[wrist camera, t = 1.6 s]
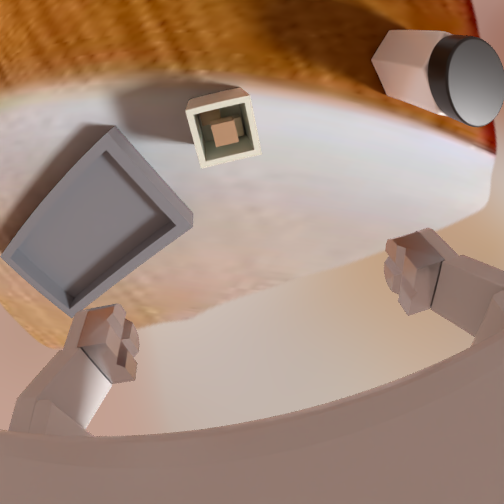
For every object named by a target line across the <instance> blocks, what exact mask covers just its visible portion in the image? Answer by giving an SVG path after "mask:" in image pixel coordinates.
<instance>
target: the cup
mask: <svg viewBox="0 0 504 504" xmlns="http://www.w3.org/2000/svg"><path fill="white" fill-rule="evenodd" d="M185 112H186V115H187V119H188V123H189V126H190V130H191V134H192V137H193V141H194V145H195V148H196V152H197V156H198V159H199V163H200V166H201V169H202V168H206V167H210V166H214V165H218V164H222V163H226V162H230V161H234V160H239V159H243V158H247V157H252V156H256V155H261V154H262V153H261V148H260V143H259V138H258V132H257V127H256V122H255V117H254V113H253V108H252V103H251V98H250V95H249V94H248V93H247V92H245V91H244V90H243V89H242V88H240V87H239V88H234V89H229V90H225V91H221V92H216V93H212V94H208V95H204V96H200V97H196V98H192V99H189V101H188V104H187V107H186V110H185Z"/></svg>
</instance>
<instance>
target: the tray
mask: <svg viewBox="0 0 504 504" xmlns="http://www.w3.org/2000/svg"><path fill="white" fill-rule="evenodd" d="M192 227H193V213H192V211H191V210H190V209H189V208H188V207H187V206H186V205H185V204H184V203H183V201H182V200H181V199H180V198H179V197H178V196H177V195H176V194H175V193H174V191H173V190H172V189H171V188H170V187H169V186H168V185H167V184H166V182H165V181H164V180H163V179H162V178H161V177H160V176H159V175H158V174H157V172H156V171H155V170H154V169H153V168H152V167H151V166H150V165H149V163H148V162H147V161H146V160H145V159H144V158H143V157H142V155H141V154H140V153H139V152H138V151H137V150H136V149H135V148H134V146H133V145H132V144H131V143H130V142H129V141H128V140H127V138H126V137H125V136H124V135H123V134H122V133H121V132H120V131H119V129H118V128H117V127H116V126H114V127H113V128H112V129H111V130H109V131H108V132H107V133H106V134H105V135H104V136H103V137H102V138H101V139H100V140H99V141H98V142H97V143H96V144H95V145H94V146H93V147H92V148H91V149H90V150H89V151H88V152H87V153H86V154H85V155H84V156H83V157H82V158H81V159H80V160H79V161H78V162H77V163H76V164H75V165H74V166H73V167H72V168H71V169H70V170H69V171H68V172H67V173H66V175H65V176H64V177H63V178H62V179H61V180H60V181H59V182H58V183H57V185H56V186H55V187H54V188H53V189H52V190H51V191H50V193H49V194H48V195H47V196H46V197H45V198H44V200H43V201H42V202H41V203H40V204H39V206H38V207H37V208H36V209H35V211H34V212H33V213H32V214H31V216H30V217H29V218H28V219H27V221H26V222H25V223H24V225H23V226H22V227H21V229H20V230H19V231H18V233H17V234H16V235H15V237H14V238H13V239H12V241H11V242H10V243H9V245H8V246H7V248H6V249H5V251H4V252H3V253H2V255H1V256H0V257H1V258H2V259H3V260H4V261H5V262H6V263H7V264H8V265H9V266H11V267H12V268H13V269H14V270H15V271H16V272H17V273H18V274H19V275H20V276H21V277H23V278H24V279H25V280H26V281H27V282H28V283H29V284H31V285H32V286H33V287H34V288H35V289H36V290H37V291H39V292H40V293H41V294H42V295H43V296H45V297H46V298H47V299H48V300H49V301H51V302H52V303H53V304H54V305H56V306H57V307H58V308H59V309H61V310H62V311H63V312H64V313H66V314H67V315H68V316H70V317H71V318H73V317H74V316H75V314H76V313H77V312H78V311H81V310H83V309H84V308H85V307H86V306H88V305H89V304H90V303H91V302H93V301H94V300H95V299H97V298H98V297H99V296H100V295H102V294H103V293H104V292H106V291H107V290H108V289H109V288H111V287H112V286H113V285H115V284H116V283H117V282H119V281H120V280H121V279H123V278H124V277H125V276H127V275H128V274H129V273H130V272H132V271H133V270H134V269H136V268H137V267H138V266H140V265H141V264H143V263H144V262H145V261H147V260H148V259H149V258H151V257H152V256H153V255H155V254H156V253H157V252H159V251H160V250H162V249H163V248H164V247H166V246H167V245H168V244H170V243H171V242H173V241H174V240H175V239H177V238H178V237H180V236H181V235H182V234H184V233H185V232H187V231H188V230H189V229H191V228H192Z"/></svg>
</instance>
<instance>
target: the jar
mask: <svg viewBox="0 0 504 504" xmlns="http://www.w3.org/2000/svg"><path fill="white" fill-rule="evenodd" d="M371 61H372V63H373V66H374V68H375V70H376V72H377V74H378V76H379V79H380V81H381V83H382V85H383V88H384V90H385V92H386V95H387V96H389V97H392V98H395V99H398V100H401V101H404V102H407V103H409V104H412V105H415V106H418V107H420V108H423V109H425V110H428V111H431V112H433V113H435V114H438V115H444V116H449V117H451V118H453V119H455V120H457V121H460V122H462V123H464V124H466V125H469V126H472V127H482V126H485V125H487V124H489V123H490V122H491V121H492V120H494V118H495V117H496V116H497V115H498V113H499V111H500V109H501V107H502V104H503V101H504V70H503V66H502V63H501V61H500V59H499V57H498V55H497V53H496V52H495V50H494V49H493V48H492V47H491V46H490V45H489V44H488V43H487V42H486V41H484V40H482V39H480V38H477V37H473V36H467V35H466V36H463V35H453V34H450V33H447V32H444V31H431V30H389V31H388V33H387V34H386V36H385V38H384V39H383V41H382V43H381V44H380V46H379V47H378V49H377V51H376V52H375V54H374V56H373V57H372V59H371Z"/></svg>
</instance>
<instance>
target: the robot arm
mask: <svg viewBox="0 0 504 504" xmlns="http://www.w3.org/2000/svg"><path fill="white" fill-rule="evenodd" d="M385 251H386V252H387V253H388V255H389V257H388V258H387V260H386V261H385V264H384V274H385V279H386V282H387V284H388V286H389V287H390V289H391V291H392V292H395V293H397V294H399V299H398V302H399V303H400V305H401V306H402V308H403V309H404V311H405V312H406V314H407V315H408V316H409V315H412V314H415V313H418V312H421V311H424V310H427V309H430V308H431V310H432V311H434V312H436V313H437V314H439V315H441V316H442V317H444V318H445V319H447V320H449V321H450V322H452V323H454V324H455V325H457V326H458V327H460V328H461V329H463V330H465V331H467V332H468V333H469V334H471V335H473V336H474V337H475V338H474V341H473V342H472V345H471V347H470V348H468V349H466V350H464V351H462V352H460V353H458V354H456V355H453V356H451V357H449V358H447V359H445V360H443V361H440V362H438V363H436V364H434V365H431V366H429V367H427V368H424V369H422V370H420V371H417V372H415V373H413V374H410V375H407V376H405V377H402V378H400V379H397V380H395V381H392V382H389V383H387V384H384V385H381V386H378V387H375V388H373V389H370V390H367V391H364V392H361V393H358V394H355V395H352V396H349V397H346V398H342V399H339V400H336V401H332V402H329V403H325V404H322V405H318V406H314V407H311V408H307V409H303V410H300V411H295V412H291V413H287V414H283V415H279V416H274V417H269V418H265V419H260V420H255V421H250V422H244V423H239V424H233V425H227V426H221V427H214V428H208V429H201V430H192V431H184V432H174V433H163V434H150V435H132V436H94V435H92V434H91V433H89V432H88V431H87V430H86V428H87V426H88V424H89V422H90V421H91V419H92V418H93V416H94V414H95V413H96V411H97V409H98V408H99V406H100V404H101V403H102V401H103V399H104V398H105V396H106V395H107V393H108V391H109V390H110V388H111V386H112V384H113V383H121V382H127V381H134V380H135V379H136V369H137V362H136V360H135V359H134V356H135V355H136V354H137V353H138V351H139V337H138V333H137V330H136V328H135V326H134V325H133V323H132V322H130V321H129V320H127V319H125V316H126V312H125V310H124V309H123V307H122V306H121V305H120V304H113V305H107V306H102V307H97V308H91V309H87V310H82V311H78V312H77V313H76V314H75V316H74V319H73V321H72V324H71V327H70V330H69V333H68V336H67V339H66V342H65V345H64V348H63V350H60V351H59V352H58V353H57V354H56V355H55V356H54V357H53V358H52V359H51V360H50V361H49V363H48V364H47V365H46V366H45V367H44V368H43V369H42V370H41V371H40V373H39V374H38V375H37V376H36V377H35V378H34V379H33V381H32V382H31V383H30V384H29V385H28V386H27V387H26V389H25V390H24V391H23V392H22V393H21V394H20V396H19V397H18V398H17V401H16V404H15V408H14V412H13V415H12V419H11V423H10V427H9V431H7V430H0V504H504V271H503V270H500V269H498V268H495V267H493V266H490V265H488V264H485V263H483V262H480V261H477V260H475V259H472V258H470V257H467V256H465V255H460V256H458V254H457V253H456V252H455V251H454V250H453V249H452V248H451V247H450V246H449V245H448V244H447V243H446V242H445V241H444V240H443V239H442V238H441V237H440V236H439V235H438V234H437V233H436V232H435V231H434V230H433V229H430V228H426V229H422V230H419V231H416V232H414V233H410V234H406V235H403V236H399V237H395V238H391V239H388V240H387V243H386V250H385Z"/></svg>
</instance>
